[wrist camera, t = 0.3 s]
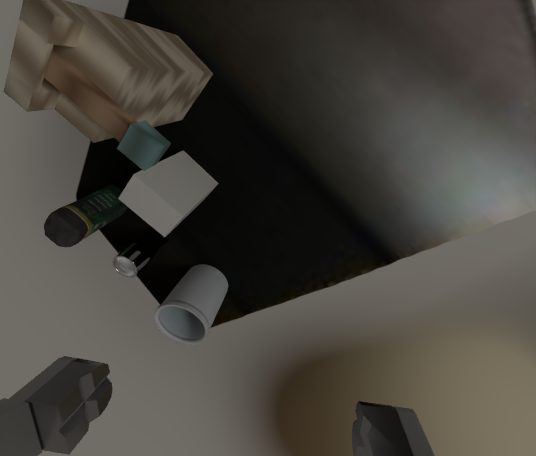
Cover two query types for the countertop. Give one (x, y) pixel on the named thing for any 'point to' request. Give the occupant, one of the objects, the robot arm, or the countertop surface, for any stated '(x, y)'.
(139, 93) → the brown boxy piece
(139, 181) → the pedestal
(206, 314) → the utensil holder
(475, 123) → the countertop surface
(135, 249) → the beer glass
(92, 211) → the coffee jar
